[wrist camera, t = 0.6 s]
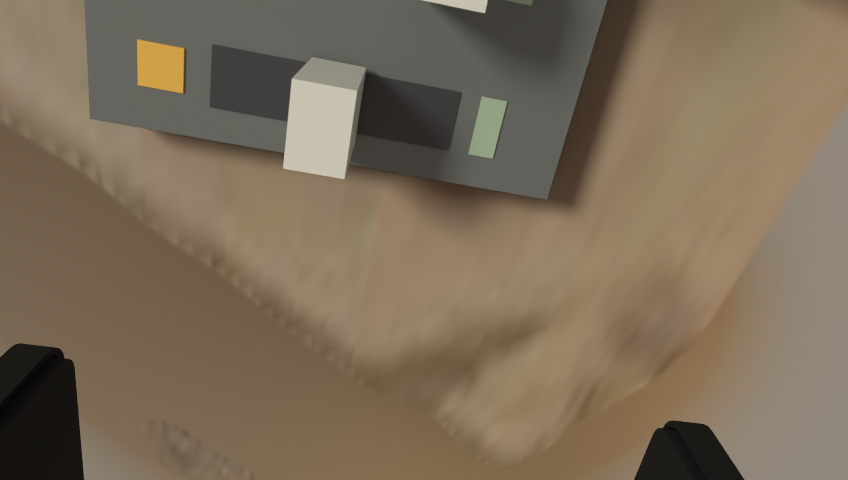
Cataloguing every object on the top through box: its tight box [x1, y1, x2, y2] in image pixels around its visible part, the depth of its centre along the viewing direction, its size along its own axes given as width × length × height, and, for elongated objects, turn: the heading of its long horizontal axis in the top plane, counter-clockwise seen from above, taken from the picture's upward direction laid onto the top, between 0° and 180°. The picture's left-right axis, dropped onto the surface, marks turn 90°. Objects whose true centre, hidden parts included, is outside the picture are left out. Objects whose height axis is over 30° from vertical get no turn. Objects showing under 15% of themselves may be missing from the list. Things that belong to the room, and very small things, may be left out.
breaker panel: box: [85, 0, 607, 200], centre depth 27 cm, size 13×22×3 cm, turn 79°
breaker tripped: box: [283, 57, 366, 179], centre depth 25 cm, size 4×2×5 cm
